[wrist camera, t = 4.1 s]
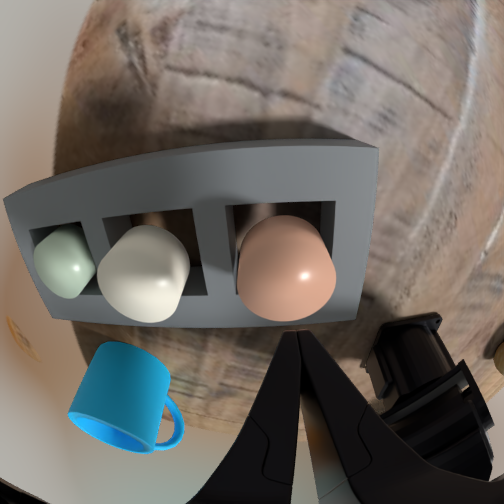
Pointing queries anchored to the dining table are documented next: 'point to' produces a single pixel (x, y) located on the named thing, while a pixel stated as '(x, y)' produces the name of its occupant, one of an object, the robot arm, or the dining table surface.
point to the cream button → (144, 274)
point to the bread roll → (499, 359)
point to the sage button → (65, 261)
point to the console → (208, 219)
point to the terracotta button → (284, 269)
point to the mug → (125, 399)
